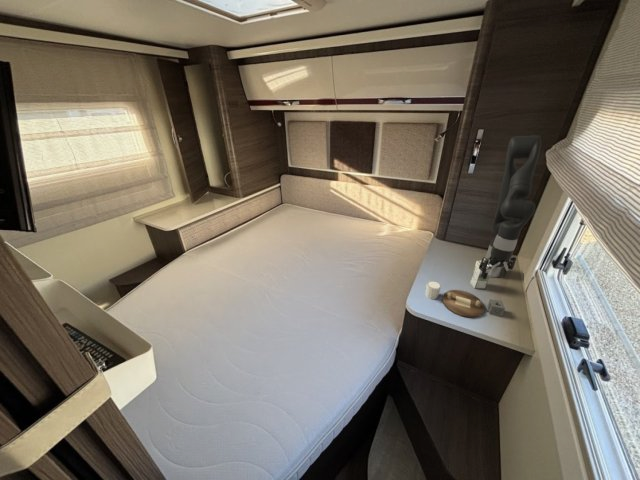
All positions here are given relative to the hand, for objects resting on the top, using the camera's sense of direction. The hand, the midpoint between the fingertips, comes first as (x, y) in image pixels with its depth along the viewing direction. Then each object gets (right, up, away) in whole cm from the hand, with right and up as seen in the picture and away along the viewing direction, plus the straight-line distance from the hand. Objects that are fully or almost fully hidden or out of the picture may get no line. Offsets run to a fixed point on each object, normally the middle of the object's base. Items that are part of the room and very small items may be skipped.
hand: (492, 277), depth 117 cm
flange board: (-7, -15, +11) cm, 20 cm away
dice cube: (+5, -17, +7) cm, 19 cm away
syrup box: (+7, -8, +23) cm, 26 cm away
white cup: (-20, -12, +17) cm, 29 cm away
